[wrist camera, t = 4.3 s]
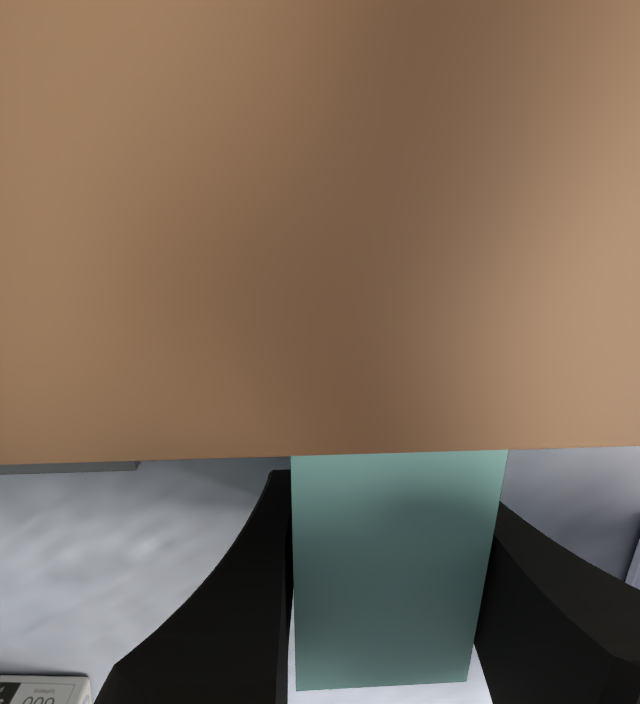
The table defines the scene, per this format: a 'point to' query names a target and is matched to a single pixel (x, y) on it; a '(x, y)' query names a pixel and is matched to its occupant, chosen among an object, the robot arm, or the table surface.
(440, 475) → the block
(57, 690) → the light bulb box
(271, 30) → the cubby
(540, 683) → the robot arm
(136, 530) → the table surface
